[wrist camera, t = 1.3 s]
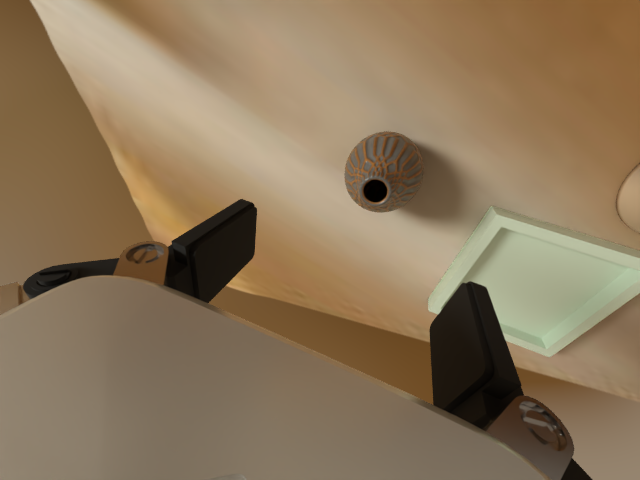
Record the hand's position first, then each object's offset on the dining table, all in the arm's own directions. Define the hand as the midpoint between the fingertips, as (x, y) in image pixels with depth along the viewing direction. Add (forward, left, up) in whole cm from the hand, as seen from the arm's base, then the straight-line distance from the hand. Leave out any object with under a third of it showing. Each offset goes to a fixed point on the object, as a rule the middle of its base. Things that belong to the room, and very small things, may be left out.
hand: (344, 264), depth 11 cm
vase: (0, 0, -18) cm, 18 cm away
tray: (+8, +18, -18) cm, 27 cm away
